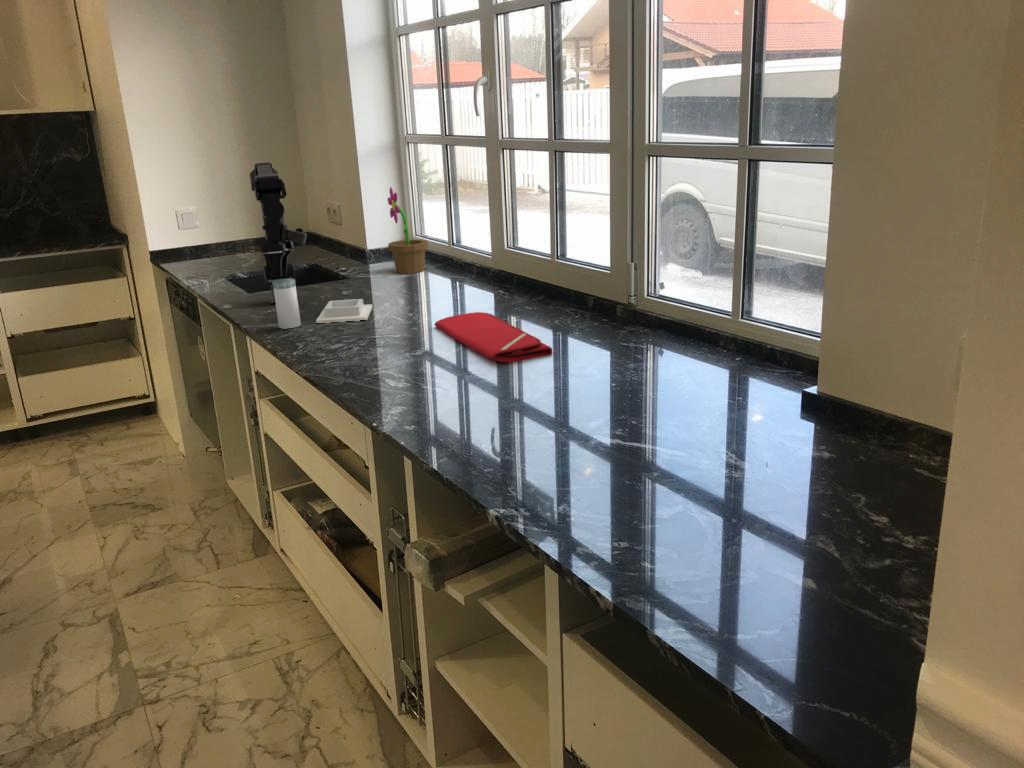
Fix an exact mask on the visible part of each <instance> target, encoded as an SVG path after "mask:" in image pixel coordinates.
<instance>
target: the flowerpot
mask: <svg viewBox="0 0 1024 768" xmlns="http://www.w3.org/2000/svg"><path fill="white" fill-rule="evenodd" d="M389 196H390V197H387V203H388V205H389V206H391V208H389V209H390V211H389V216H390V218H391V219H392V218H393V219H394V222H395V224H398V214H400V215H401V216H402V220H403V223H404V227H405V228H404V230H403V233H404V234H405V239H402V240H396V241H392V242H388V243H387V246H388V251H389V252H391V253H392V258H393V263H394V266H395V271H396V273H397V274H400V275H413V274H414V275H415V274H421V273H423V272H425V267H426V249H428V248H429V242H428V240H426V239H410V235H409V229H408V228H409V226H408V224H407V223H408V222H407V219H406V216H405V213H404V212H403V210H402V208H401V207H400V206H399V204H398V203H397V202H398V194H397V192H394V190H393V188H392V186H390V187H389Z"/></svg>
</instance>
